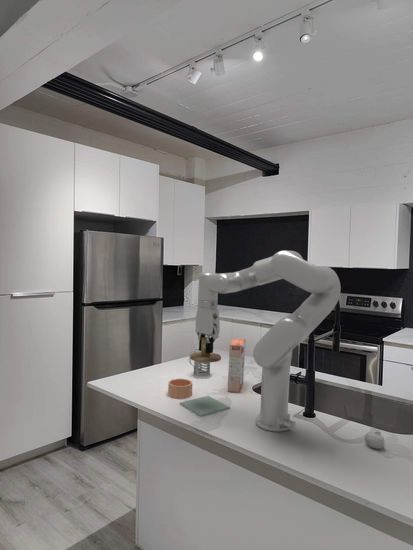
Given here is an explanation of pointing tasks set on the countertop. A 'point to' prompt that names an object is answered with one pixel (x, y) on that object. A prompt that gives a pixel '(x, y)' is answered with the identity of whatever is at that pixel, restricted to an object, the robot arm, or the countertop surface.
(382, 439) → the garlic
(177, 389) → the bowl
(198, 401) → the mat
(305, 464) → the countertop surface
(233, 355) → the cracker box
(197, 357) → the lid
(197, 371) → the french press
